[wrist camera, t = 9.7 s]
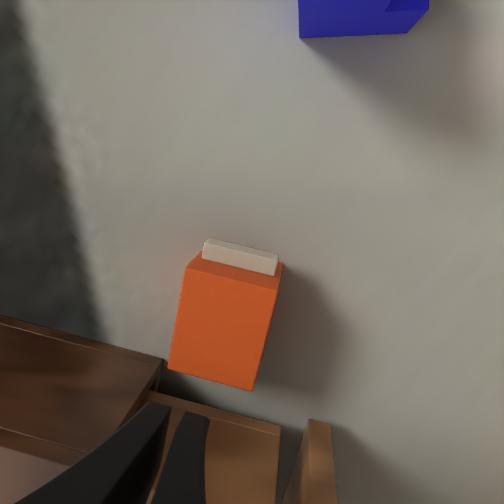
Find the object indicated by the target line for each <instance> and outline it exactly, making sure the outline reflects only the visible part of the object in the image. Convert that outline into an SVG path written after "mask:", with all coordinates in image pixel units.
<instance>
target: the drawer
mask: <svg viewBox="0 0 504 504" xmlns="http://www.w3.org/2000/svg"><path fill="white" fill-rule="evenodd" d="M149 402H155V403H159V404H162V405H166V406H170V407H172V409H171V414H170V419H169V425H168V430H167V435H166V440H165V446H164V451H163V456H162V461H161V466H160V469H159V471H158V474H157V477H156V479H155V482H154V484H153V487H152V490H151V492H150V495H149V497H148V500H147V502H146V504H150V503H151V500H152V498H153V495H154V493H155V490H156V487H157V484H158V481H159V478H160V475H161V472H162V469H163V466H164V463H165V460H166V457H167V454H168V451H169V448H170V445H171V442H172V439H173V436H174V433H175V430H176V428H177V426H178V424H179V422H180V420H181V418H182V417H183V415H184V413H185V412H186V411H188V412H191V413H195V414H199V415H202V416H206V417H208V419H209V420H210V425H209V430H208V434H207V439H206V448H205V493H206V504H276V491H277V477H278V464H279V451H280V437H281V426H279V425H275V424H271V423H268V422H264V421H260V420H257V419H253V418H249V417H246V416H242V415H238V414H235V413H231V412H227V411H224V410H220V409H216V408H213V407H209V406H205V405H202V404H198V403H194V402H191V401H187V400H184V399H180V398H176V397H173V396H169V395H165V394H162V393H158V392H154V391H151V390H149V391H148V392H147V394H146V395H145V397H144V399H143V400H142V402H141V403H140V405H139V407H138V408H137V410H136V411H135V413H134V415H135V414H136V413H137V412H138V411H139V410H140V409H141V408H142V407H143V406H144V405H145V404H147V403H149ZM134 415H133V416H134ZM133 416H132V417H133ZM282 504H338V498H337V488H336V478H335V468H334V458H333V448H332V438H331V428H330V424H328V423H324V422H321V421H317V420H313V419H308V422H307V425H306V429H305V432H304V435H303V438H302V441H301V445H300V448H299V451H298V454H297V457H296V461H295V464H294V467H293V470H292V473H291V476H290V480H289V483H288V486H287V489H286V492H285V496H284V499H283V502H282Z"/></svg>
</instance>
